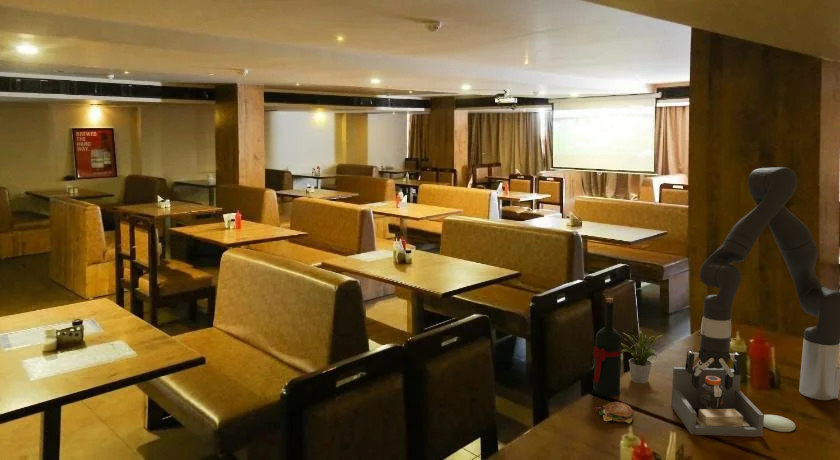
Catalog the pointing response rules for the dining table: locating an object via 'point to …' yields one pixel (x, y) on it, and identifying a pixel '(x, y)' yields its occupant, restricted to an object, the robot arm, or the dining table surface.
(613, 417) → the hamburger
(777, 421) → the coaster
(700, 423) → the offcut lower
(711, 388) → the pill bottle
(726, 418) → the offcut upper
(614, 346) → the wine bottle
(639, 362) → the house plant
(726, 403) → the frame
